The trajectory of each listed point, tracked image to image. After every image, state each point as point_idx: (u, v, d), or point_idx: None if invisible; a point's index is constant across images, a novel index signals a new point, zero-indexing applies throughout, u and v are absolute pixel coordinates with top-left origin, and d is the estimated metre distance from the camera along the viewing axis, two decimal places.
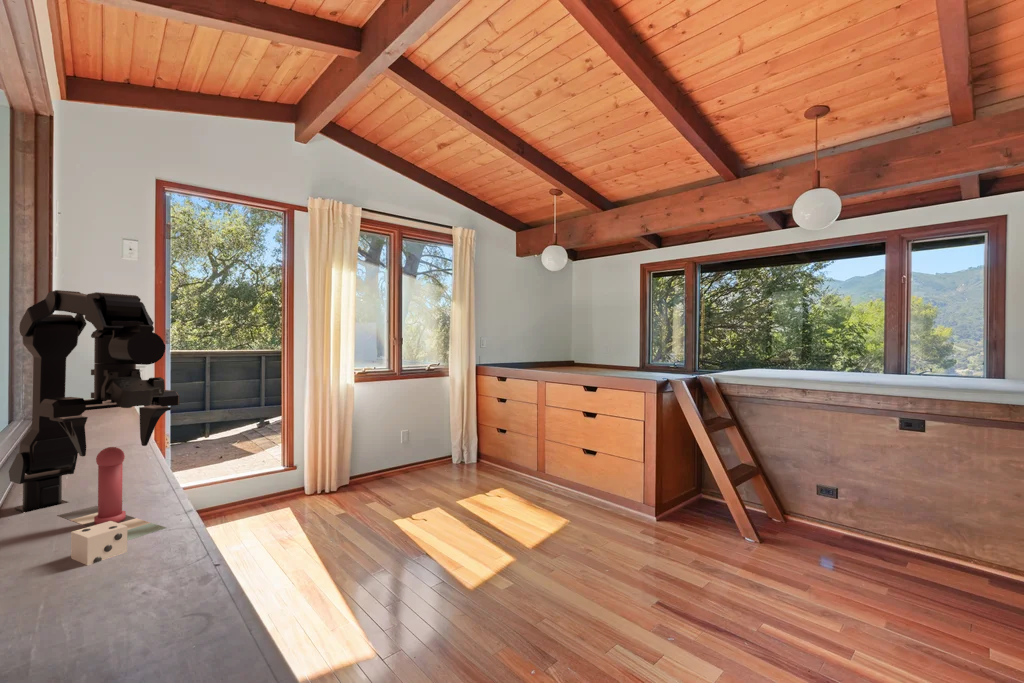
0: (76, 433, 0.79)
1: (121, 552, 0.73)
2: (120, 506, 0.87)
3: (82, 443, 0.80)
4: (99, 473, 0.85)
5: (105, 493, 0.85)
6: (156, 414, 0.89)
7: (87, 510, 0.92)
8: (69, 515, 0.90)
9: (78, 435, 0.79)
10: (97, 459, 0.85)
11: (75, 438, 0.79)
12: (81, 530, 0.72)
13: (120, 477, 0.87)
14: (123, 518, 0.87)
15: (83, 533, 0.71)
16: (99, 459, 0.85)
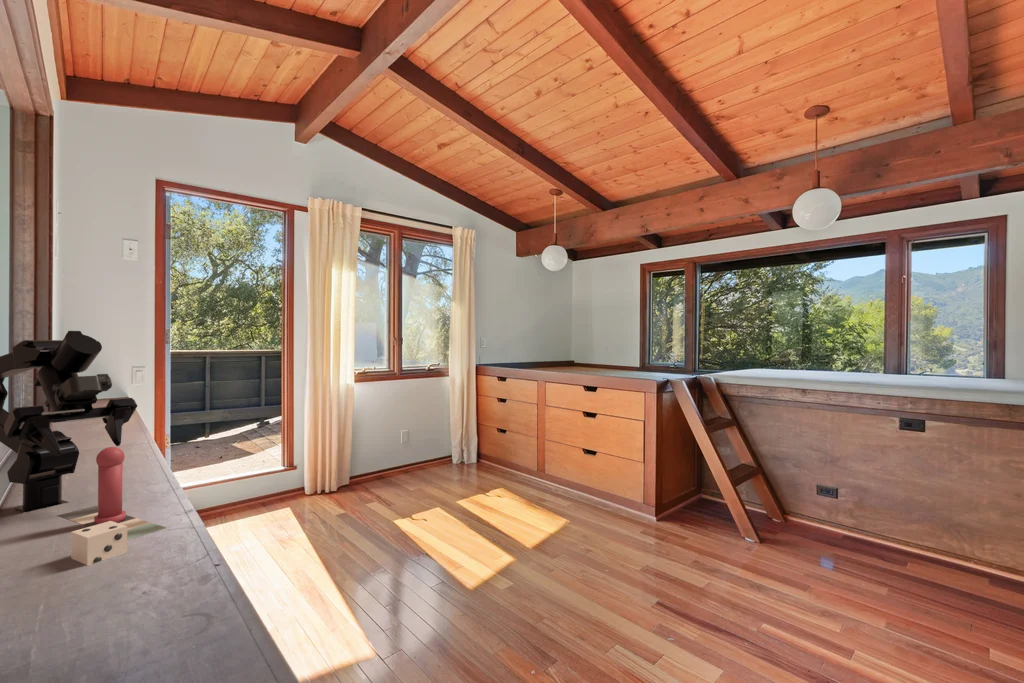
0: (44, 433, 0.86)
1: (121, 552, 0.73)
2: (120, 506, 0.87)
3: (53, 441, 0.86)
4: (99, 473, 0.85)
5: (105, 493, 0.85)
6: (117, 414, 0.96)
7: (87, 510, 0.92)
8: (69, 515, 0.90)
9: (46, 434, 0.86)
10: (97, 459, 0.85)
11: (45, 440, 0.86)
12: (81, 530, 0.72)
13: (120, 477, 0.87)
14: (123, 518, 0.87)
15: (83, 533, 0.71)
16: (99, 459, 0.85)
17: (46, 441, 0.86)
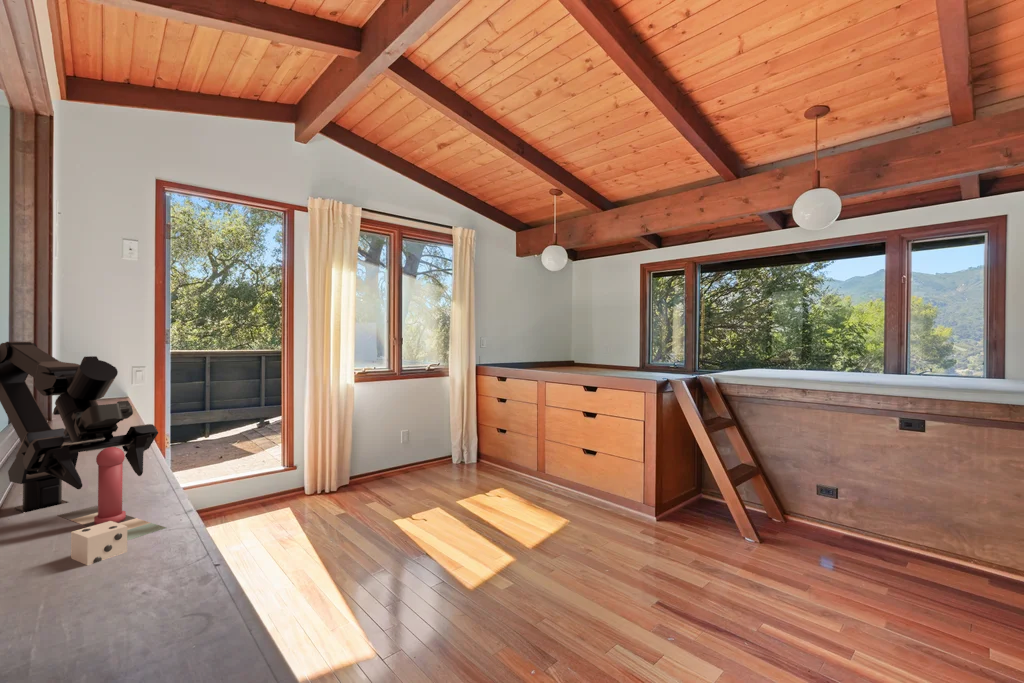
0: (64, 465, 0.82)
1: (121, 552, 0.73)
2: (120, 506, 0.87)
3: (74, 474, 0.82)
4: (99, 473, 0.85)
5: (105, 493, 0.85)
6: (138, 442, 0.93)
7: (87, 510, 0.92)
8: (69, 515, 0.90)
9: (67, 467, 0.82)
10: (97, 459, 0.85)
11: (66, 473, 0.82)
12: (81, 530, 0.72)
13: (120, 477, 0.87)
14: (123, 518, 0.87)
15: (83, 533, 0.71)
16: (99, 459, 0.85)
17: (67, 474, 0.82)
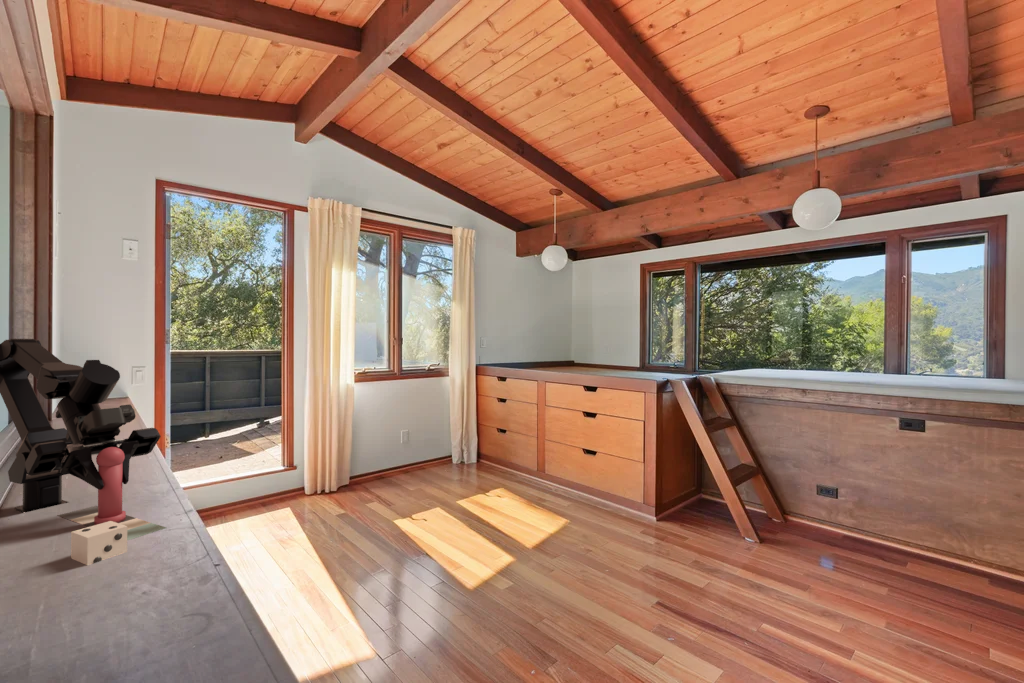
0: (86, 466, 0.84)
1: (121, 552, 0.73)
2: (120, 506, 0.87)
3: (96, 475, 0.84)
4: (99, 473, 0.85)
5: (105, 493, 0.85)
6: (124, 449, 0.90)
7: (87, 510, 0.92)
8: (69, 515, 0.90)
9: (89, 468, 0.84)
10: (97, 459, 0.85)
11: (88, 474, 0.84)
12: (81, 530, 0.72)
13: (120, 477, 0.87)
14: (123, 518, 0.87)
15: (83, 533, 0.71)
16: (99, 459, 0.85)
17: (89, 475, 0.84)
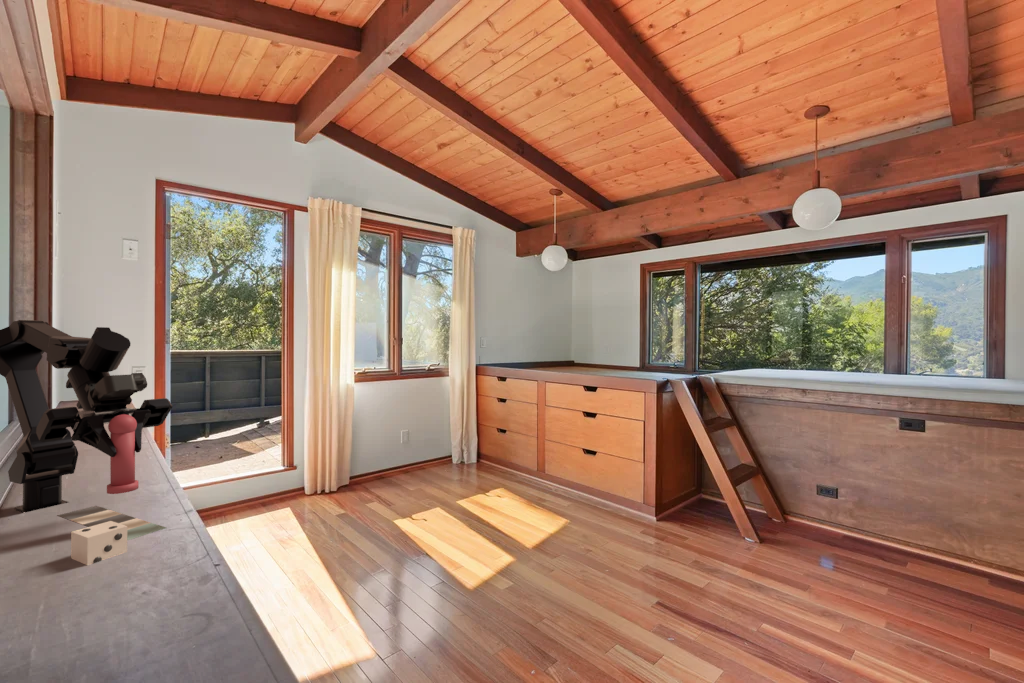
0: (99, 433, 0.82)
1: (121, 552, 0.73)
2: (133, 474, 0.85)
3: (108, 442, 0.83)
4: (111, 440, 0.83)
5: (117, 460, 0.83)
6: (136, 418, 0.88)
7: (87, 510, 0.92)
8: (69, 515, 0.90)
9: (101, 435, 0.83)
10: (109, 426, 0.83)
11: (100, 441, 0.83)
12: (81, 530, 0.72)
13: (133, 445, 0.85)
14: (136, 487, 0.85)
15: (83, 533, 0.71)
16: (111, 426, 0.83)
17: (101, 442, 0.83)
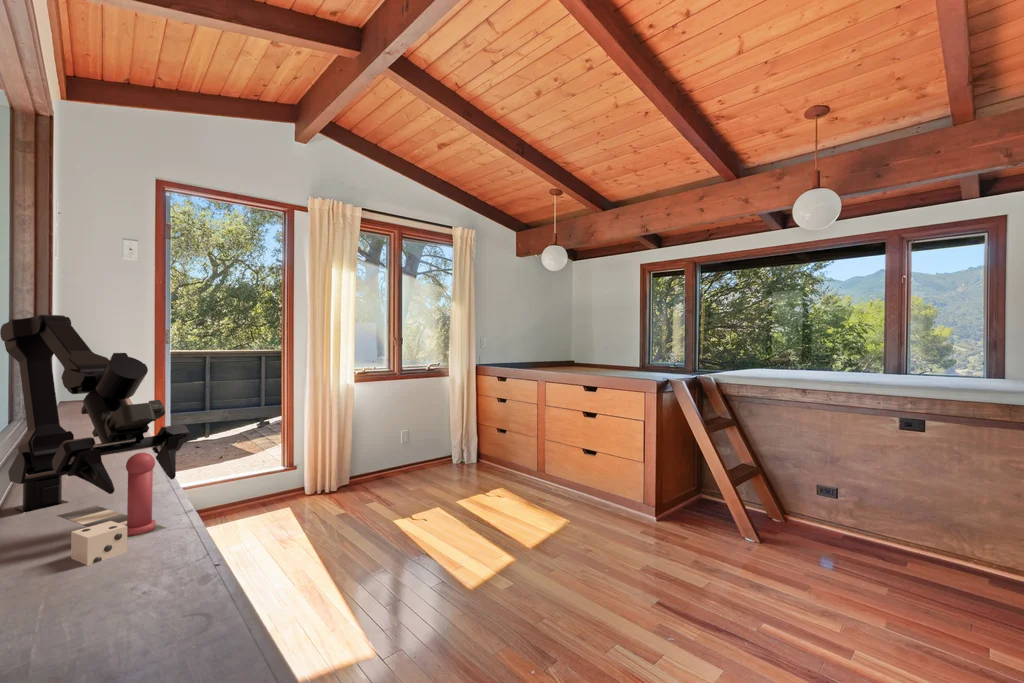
0: (96, 469, 0.77)
1: (121, 552, 0.73)
2: (150, 515, 0.83)
3: (106, 478, 0.78)
4: (129, 480, 0.81)
5: (135, 501, 0.81)
6: (170, 444, 0.88)
7: (87, 510, 0.92)
8: (69, 515, 0.90)
9: (99, 470, 0.77)
10: (127, 465, 0.81)
11: (97, 477, 0.78)
12: (81, 530, 0.72)
13: (150, 484, 0.82)
14: (153, 528, 0.83)
15: (83, 533, 0.71)
16: (129, 466, 0.80)
17: (98, 478, 0.77)
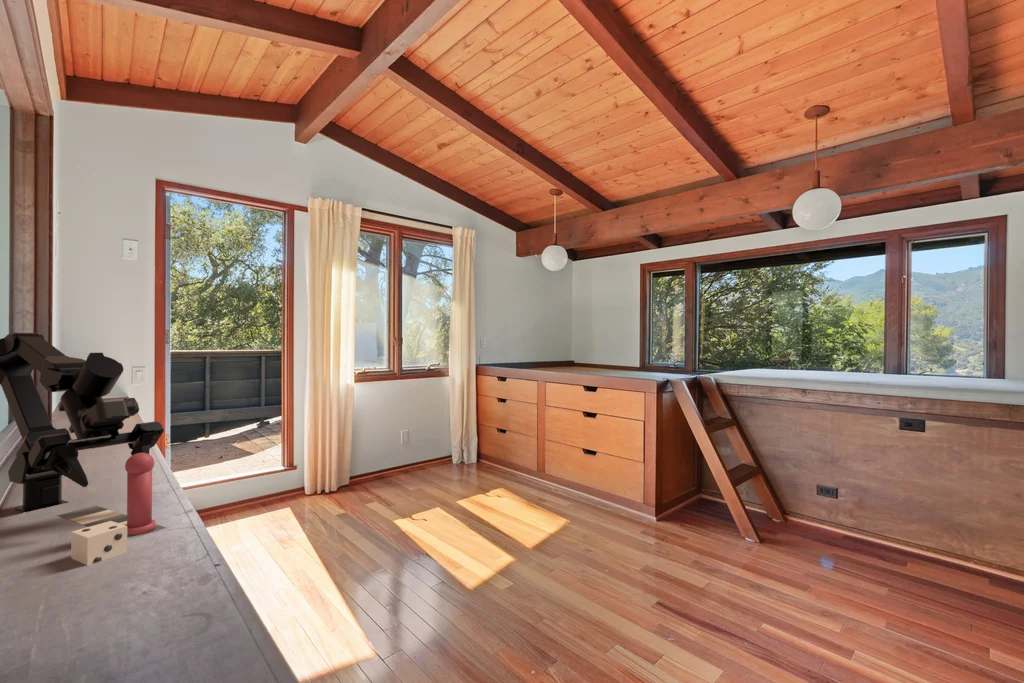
0: (70, 463, 0.81)
1: (121, 552, 0.73)
2: (150, 515, 0.83)
3: (80, 472, 0.82)
4: (128, 480, 0.81)
5: (134, 501, 0.81)
6: (144, 440, 0.92)
7: (87, 510, 0.92)
8: (69, 515, 0.90)
9: (73, 465, 0.81)
10: (126, 466, 0.81)
11: (72, 471, 0.81)
12: (81, 530, 0.72)
13: (150, 484, 0.83)
14: (153, 528, 0.83)
15: (83, 533, 0.71)
16: (128, 466, 0.80)
17: (73, 471, 0.81)
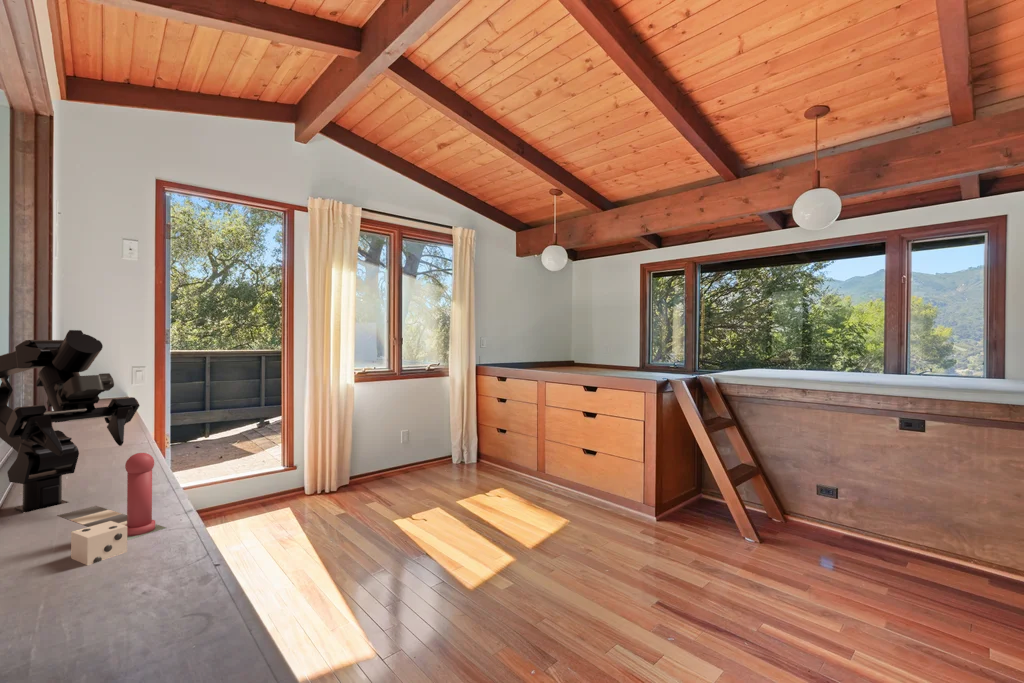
0: (46, 433, 0.85)
1: (121, 552, 0.73)
2: (150, 515, 0.83)
3: (56, 441, 0.86)
4: (128, 480, 0.81)
5: (134, 501, 0.81)
6: (120, 414, 0.96)
7: (87, 510, 0.92)
8: (69, 515, 0.90)
9: (49, 434, 0.85)
10: (126, 466, 0.81)
11: (47, 440, 0.86)
12: (81, 530, 0.72)
13: (150, 484, 0.83)
14: (153, 528, 0.83)
15: (83, 533, 0.71)
16: (129, 466, 0.80)
17: (48, 441, 0.85)
